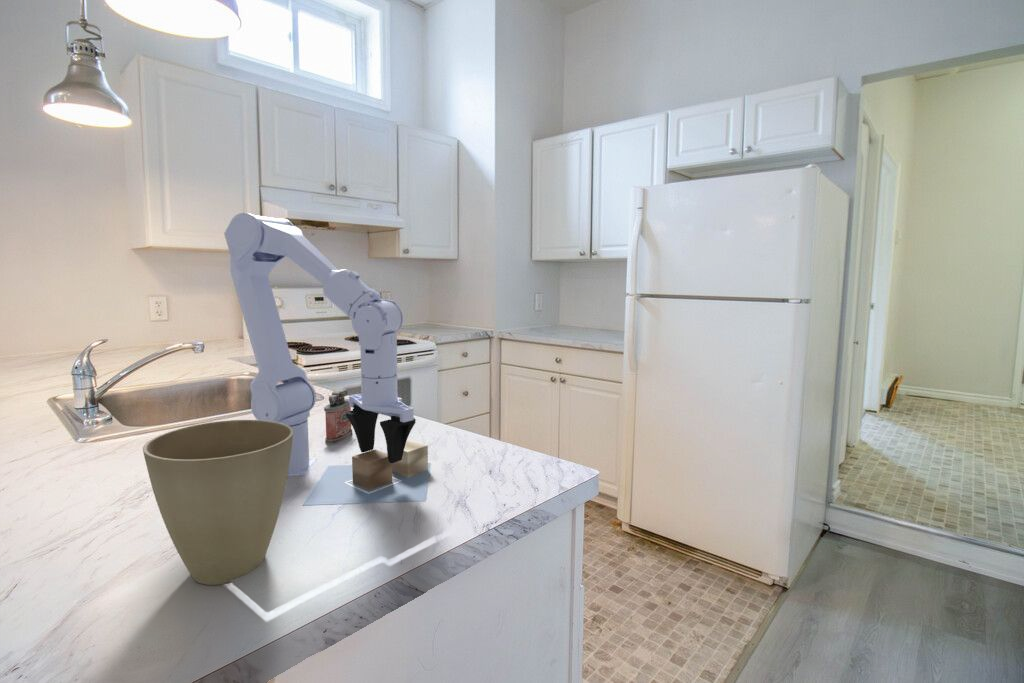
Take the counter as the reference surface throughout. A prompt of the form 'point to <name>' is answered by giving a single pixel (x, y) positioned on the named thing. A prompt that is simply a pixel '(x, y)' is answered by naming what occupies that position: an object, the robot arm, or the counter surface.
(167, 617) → the counter surface
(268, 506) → the plant pot
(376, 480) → the walnut block
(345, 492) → the blueprint board
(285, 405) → the robot arm
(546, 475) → the counter surface
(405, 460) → the ash block
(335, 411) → the lighter
